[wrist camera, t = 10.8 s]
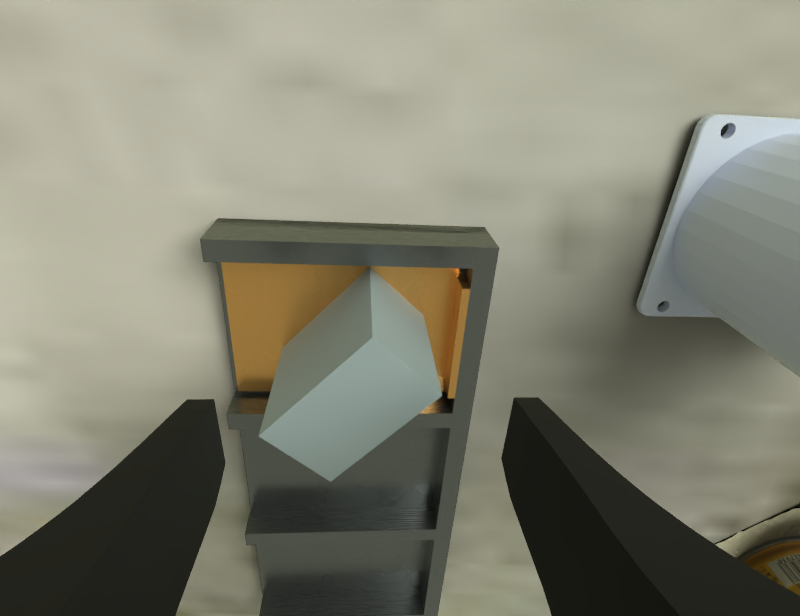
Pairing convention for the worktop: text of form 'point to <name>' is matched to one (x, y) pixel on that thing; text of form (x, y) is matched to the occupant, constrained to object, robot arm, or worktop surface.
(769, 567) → the condiment
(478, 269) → the tray
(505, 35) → the worktop surface
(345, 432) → the pale blue block
